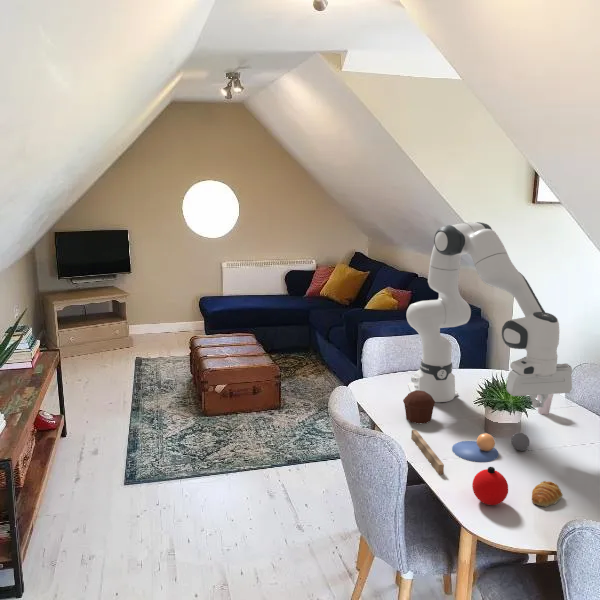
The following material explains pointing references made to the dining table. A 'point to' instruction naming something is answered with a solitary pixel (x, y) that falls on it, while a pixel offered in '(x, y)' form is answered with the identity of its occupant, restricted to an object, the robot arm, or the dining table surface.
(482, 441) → the object ball
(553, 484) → the pastry
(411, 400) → the muffin
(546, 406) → the smoothie
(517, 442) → the grey matte sphere
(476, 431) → the dining table surface
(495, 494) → the ornament
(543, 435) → the dining table surface
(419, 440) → the wall
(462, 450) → the blue flat disc
